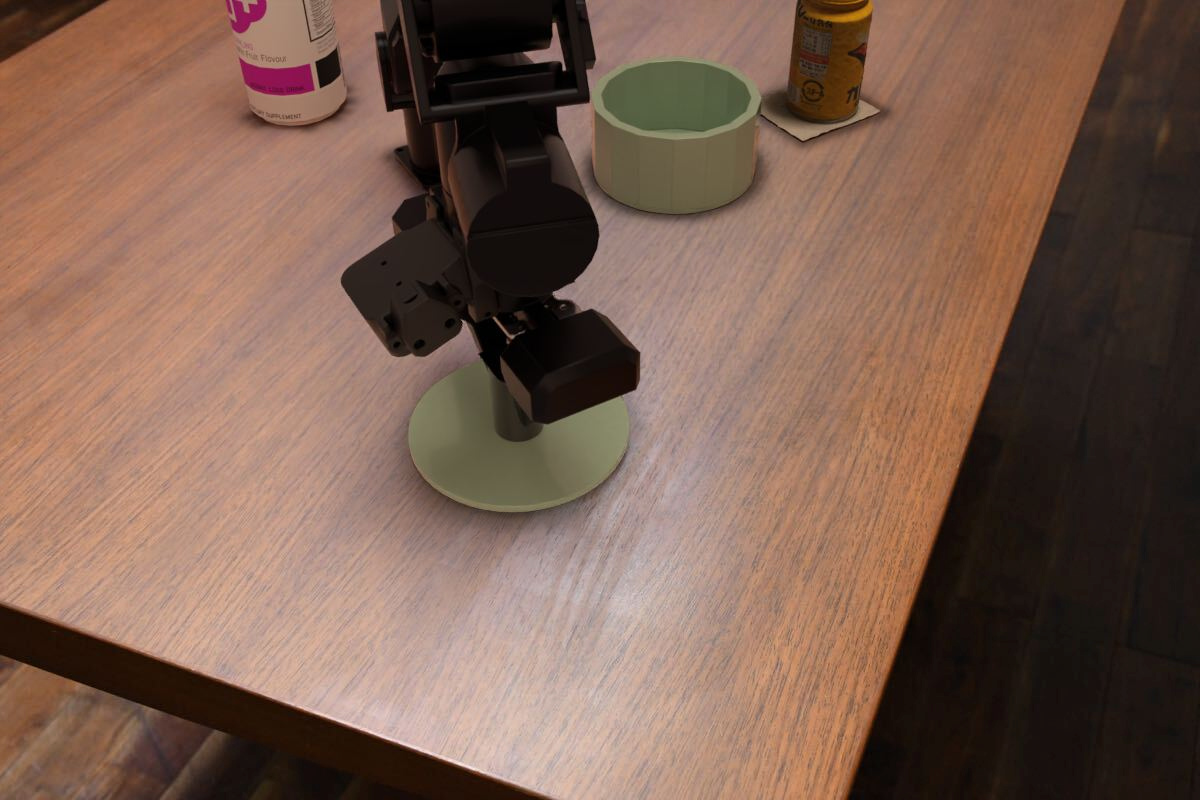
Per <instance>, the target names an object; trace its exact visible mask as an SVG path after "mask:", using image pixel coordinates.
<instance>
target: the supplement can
mask: <svg viewBox="0 0 1200 800" xmlns="http://www.w3.org/2000/svg"><path fill="white" fill-rule="evenodd" d="M225 4H226V9H227V14H228V18H229V22H230V27H231V30H232V34H233V39H234V43H235V48H236V52H237V56H238V60H239V64H240V65H239V66H240V69H241V74H242V78H243V82H244V87H245V90H246V95H247V100H248V103H249V109H250V110H251V111H252V112H253V113H254V114H256V115H257V117H260V118H262V119H263V120H264V121H266V122H268V123H271V124H274V125H279V126H288V127H293V126H295V127H296V126H306V125H311V124H313V123H317V122H321V121H323V120H325V119H327V118H328V117H331V116H332V115H334V114H335V113H336V112H337V111H338V110H340V107H341V105H343V104H344V103H345V101H346V99H347V96H348V89H347V83H346V77H345V71H344V65H343V60H342V59H343V58H342V54H341V53H342V52H341V48H340V41H339V36H338V30H337V25H336V24H337V23H336V19H335V12H334V7H333V1H332V0H225Z"/></svg>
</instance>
